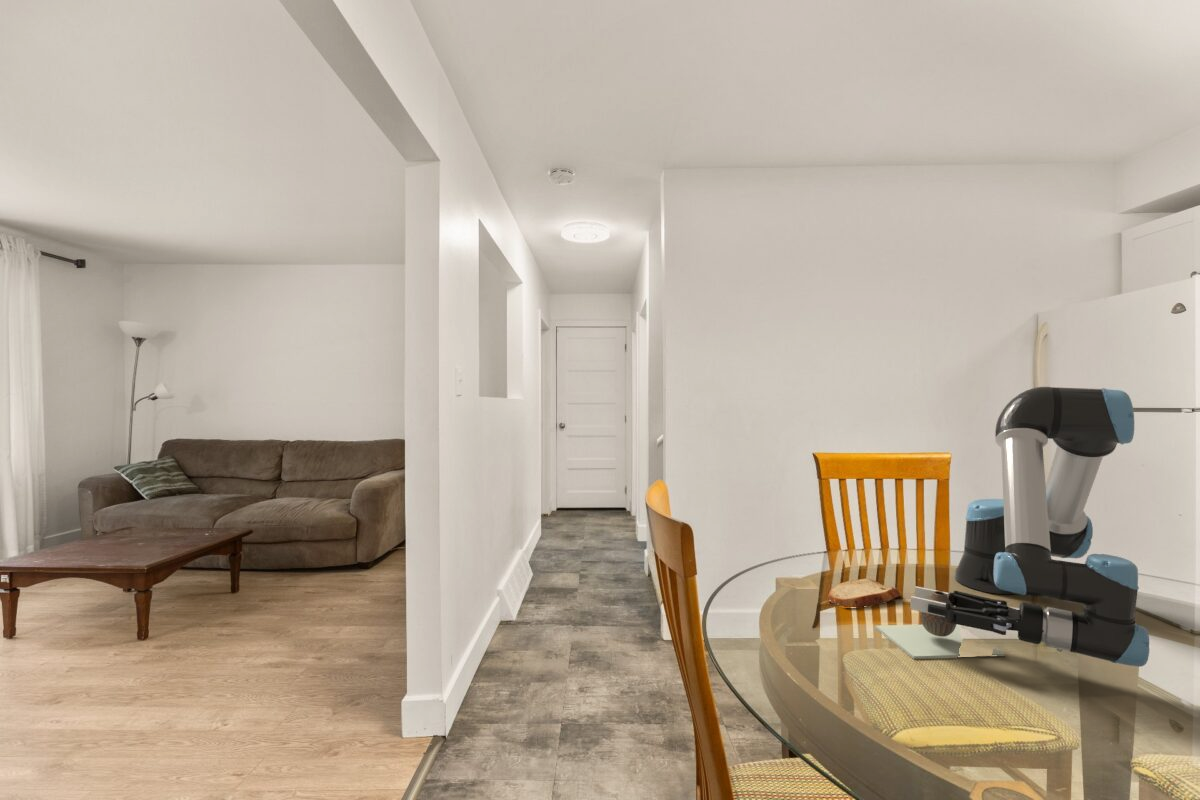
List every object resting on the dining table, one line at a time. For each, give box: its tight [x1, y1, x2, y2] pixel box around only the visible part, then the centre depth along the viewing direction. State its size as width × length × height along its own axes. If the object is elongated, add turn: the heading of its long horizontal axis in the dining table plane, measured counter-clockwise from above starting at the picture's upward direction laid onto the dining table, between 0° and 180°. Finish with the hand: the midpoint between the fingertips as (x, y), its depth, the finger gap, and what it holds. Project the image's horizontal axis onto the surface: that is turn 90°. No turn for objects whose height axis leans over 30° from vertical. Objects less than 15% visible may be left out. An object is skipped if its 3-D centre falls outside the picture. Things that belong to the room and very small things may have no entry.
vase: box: [919, 590, 957, 637], centre depth 129 cm, size 7×7×9 cm
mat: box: [874, 624, 1006, 660], centre depth 130 cm, size 20×14×1 cm
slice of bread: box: [827, 578, 901, 608], centre depth 153 cm, size 18×18×4 cm
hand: (913, 597), depth 132 cm, fingers closed on vase, 6 cm apart
